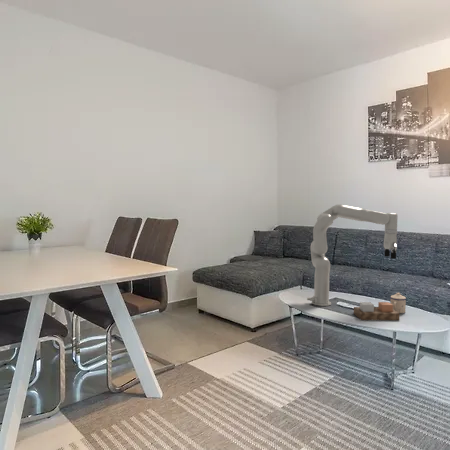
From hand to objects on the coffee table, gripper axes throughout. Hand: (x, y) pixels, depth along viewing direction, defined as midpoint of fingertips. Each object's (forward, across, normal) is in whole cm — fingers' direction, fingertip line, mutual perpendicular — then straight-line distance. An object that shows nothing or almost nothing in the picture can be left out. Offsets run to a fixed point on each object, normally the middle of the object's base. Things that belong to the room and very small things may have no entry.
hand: (390, 257), depth 255 cm
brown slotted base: (+31, +29, -20) cm, 47 cm away
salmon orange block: (+28, +29, -14) cm, 43 cm away
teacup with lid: (+31, +19, -3) cm, 37 cm away
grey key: (+28, +29, -25) cm, 48 cm away
